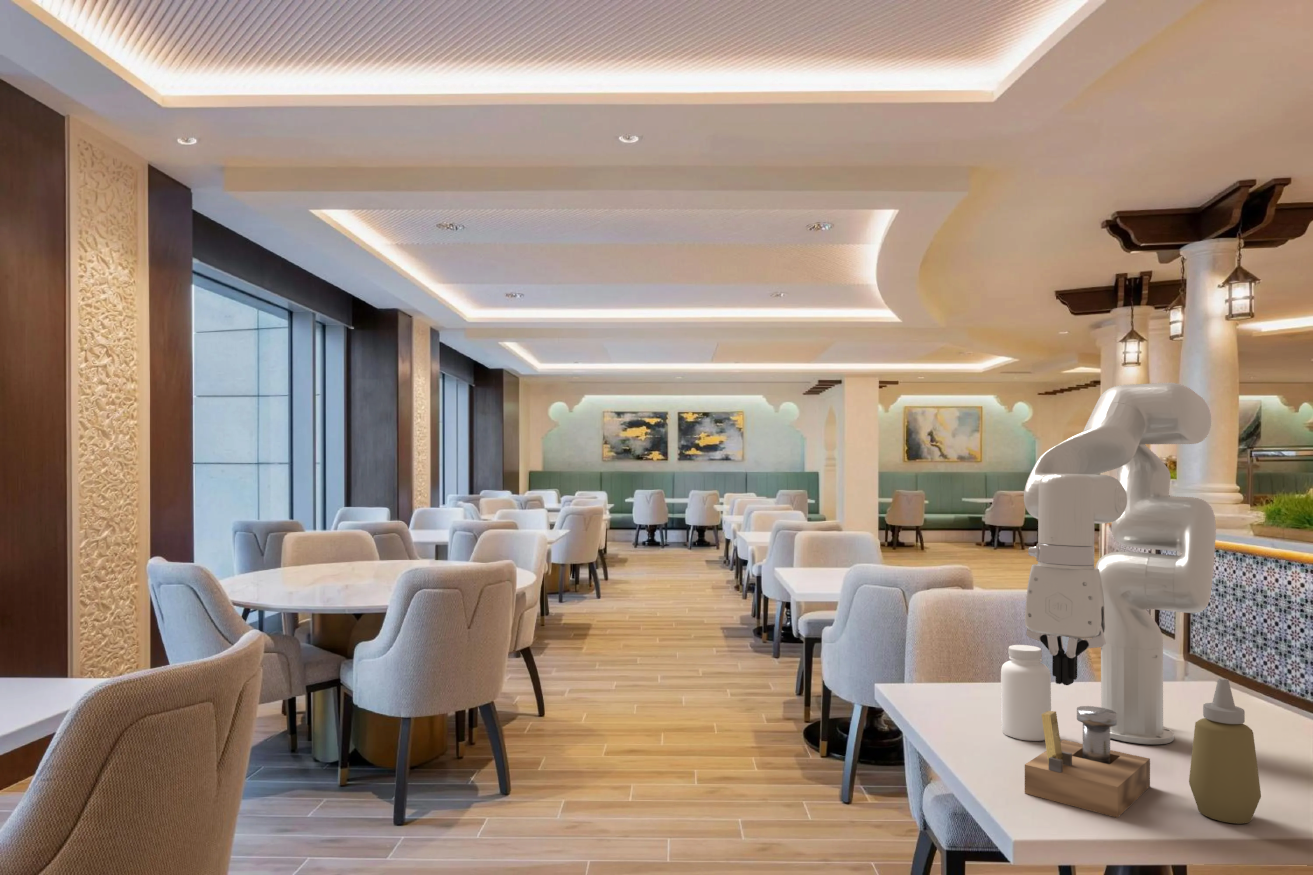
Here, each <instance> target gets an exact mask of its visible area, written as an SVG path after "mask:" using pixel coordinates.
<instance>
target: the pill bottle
mask: <svg viewBox="0 0 1313 875" xmlns="http://www.w3.org/2000/svg"><path fill="white" fill-rule="evenodd" d="M1042 657H1043V650H1042V649H1041V647H1038V646H1035V645H1026V644H1013V645H1009V646H1008V659H1009V660H1007V661H1005V662H1004V663H1003V664H1002V666H1001V670H1000V694H1001V696H1000V697H1001V698H1000V700H1001V701H1000V704H1001V705H1000V707H1001V708H1000V711H1001V712H1000V714H1001V715H1000V717H1001V718H1000V719H1001V720H1000V723H1001V725H1000V726H1001V731H1002V733H1003V734H1004V735H1006V736H1008V737H1010V738H1012V739H1016V740H1021V741H1029V742H1038V741H1039V742H1041V741H1045V736H1044V729H1043V722H1042V715H1041V714H1043V713H1045V712H1046V711H1052V690H1051V689H1052V682H1051V681H1052V679H1051V676H1052V675H1051V674H1052V673H1051V670H1050V669H1049V668H1048V666H1047V665H1045V663H1042V661H1043V659H1042Z"/></svg>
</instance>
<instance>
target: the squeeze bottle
mask: <svg viewBox="0 0 1313 875" xmlns="http://www.w3.org/2000/svg"><path fill="white" fill-rule="evenodd" d="M1212 698H1213V699H1212V702H1206V703H1203V705H1202V706H1203V707H1202V712H1203V714H1202V715H1203V718H1200V719H1198V720H1197V721H1195V722H1194V731H1193V740H1192V748H1191V751H1192V752H1191V759H1190V768H1189V775H1188V776H1189V777H1188V783H1189V786H1190V790H1191V793H1192V796H1193V799H1194V801H1195V804H1196V806H1197V809H1198V812H1199V813H1200V814H1202V815H1203V816H1205V817H1207V818H1210V819H1213V820H1215V821H1216V820H1217V821H1219V822H1224V823H1230V824H1239V825H1240V824H1248V823H1250V822H1252V820H1253V818H1254V814H1255V813H1256V809H1257V807H1258V805H1259V803H1260V799H1261V797H1262V794H1261V793H1262V792H1261V784H1260V776H1259V768H1258V760H1257V753H1256V752H1257V751H1256V744H1255V736H1254V732H1253V730H1252V729H1251V727H1249V725H1247V724H1245V720H1246V718H1245V716H1246V715H1245V713H1246V712H1245V709H1244V708H1241V707H1240V706H1236V704H1235V700H1234V696H1233V693H1232V688H1231V685H1230V680H1229V679H1226V678H1217V683H1216V687H1215V690H1214V694H1213V697H1212Z"/></svg>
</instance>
